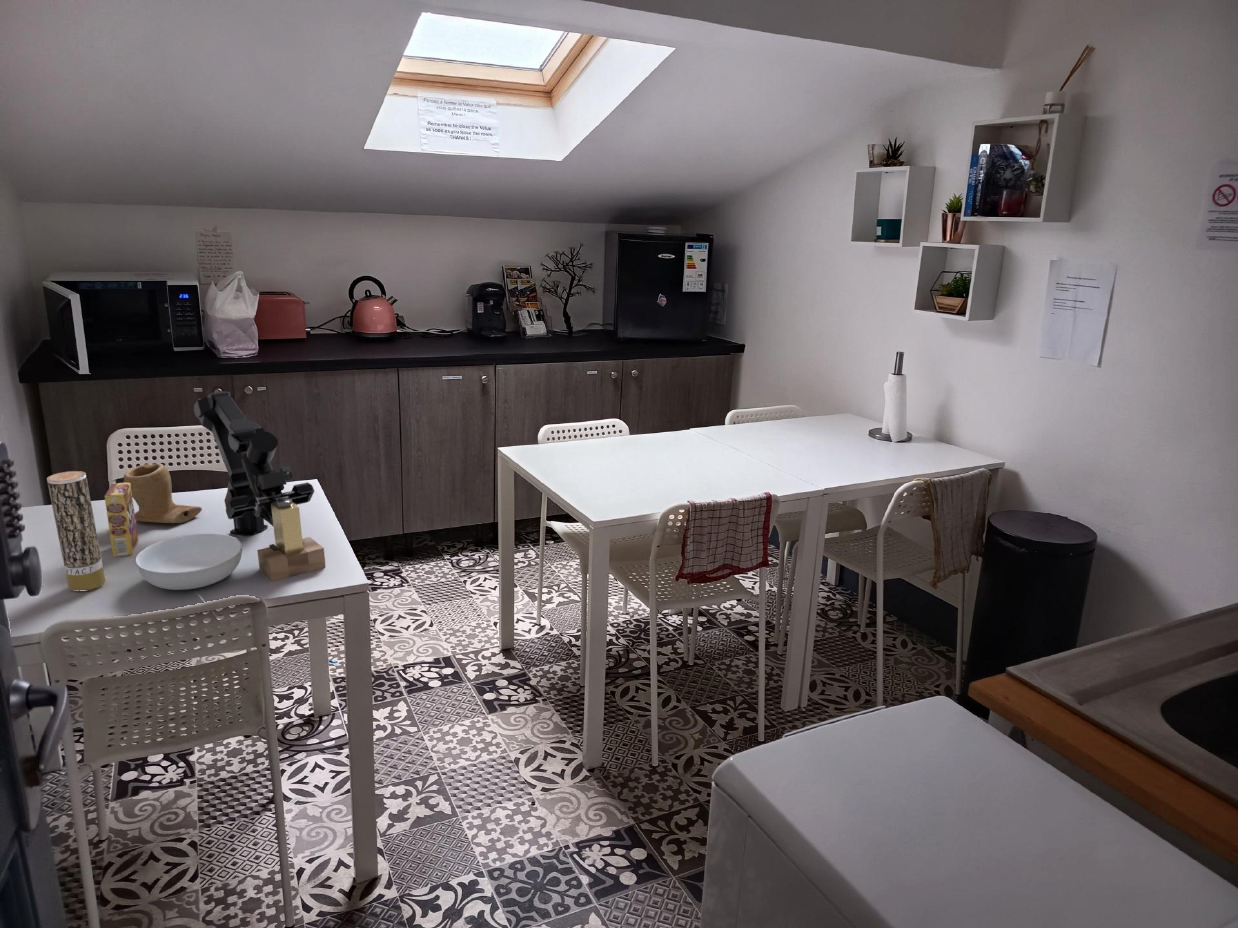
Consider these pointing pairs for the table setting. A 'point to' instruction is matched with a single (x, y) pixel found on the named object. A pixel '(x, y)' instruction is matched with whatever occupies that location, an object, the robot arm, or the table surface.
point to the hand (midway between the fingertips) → (282, 532)
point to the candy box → (121, 519)
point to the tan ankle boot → (156, 495)
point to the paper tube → (76, 530)
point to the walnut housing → (291, 560)
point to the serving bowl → (189, 560)
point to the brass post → (287, 526)
